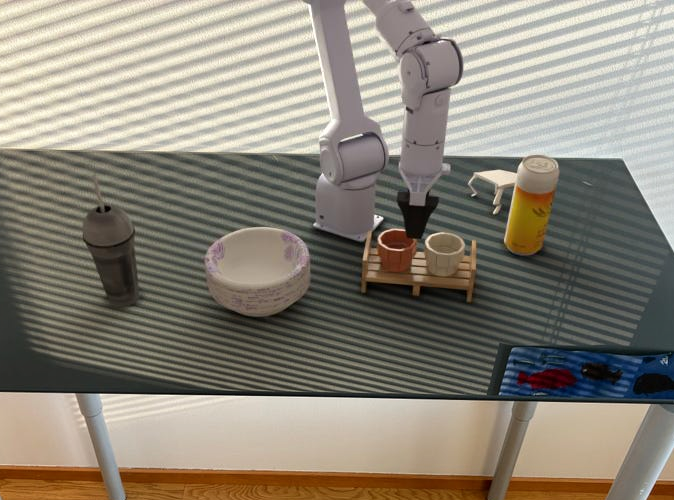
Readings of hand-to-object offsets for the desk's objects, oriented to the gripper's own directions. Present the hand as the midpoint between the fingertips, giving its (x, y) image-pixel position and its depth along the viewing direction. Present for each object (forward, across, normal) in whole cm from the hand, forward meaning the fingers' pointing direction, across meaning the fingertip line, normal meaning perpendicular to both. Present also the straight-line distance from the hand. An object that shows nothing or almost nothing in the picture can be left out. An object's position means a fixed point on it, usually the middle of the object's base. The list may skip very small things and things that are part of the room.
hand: (415, 222), depth 111 cm
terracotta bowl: (+7, -1, +2) cm, 8 cm away
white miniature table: (+10, +24, -15) cm, 30 cm away
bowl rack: (+10, -1, -1) cm, 10 cm away
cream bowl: (+7, -1, -5) cm, 9 cm away
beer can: (+10, +11, -18) cm, 23 cm away
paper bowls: (+10, -8, +22) cm, 26 cm away
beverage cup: (+10, -10, +42) cm, 45 cm away
